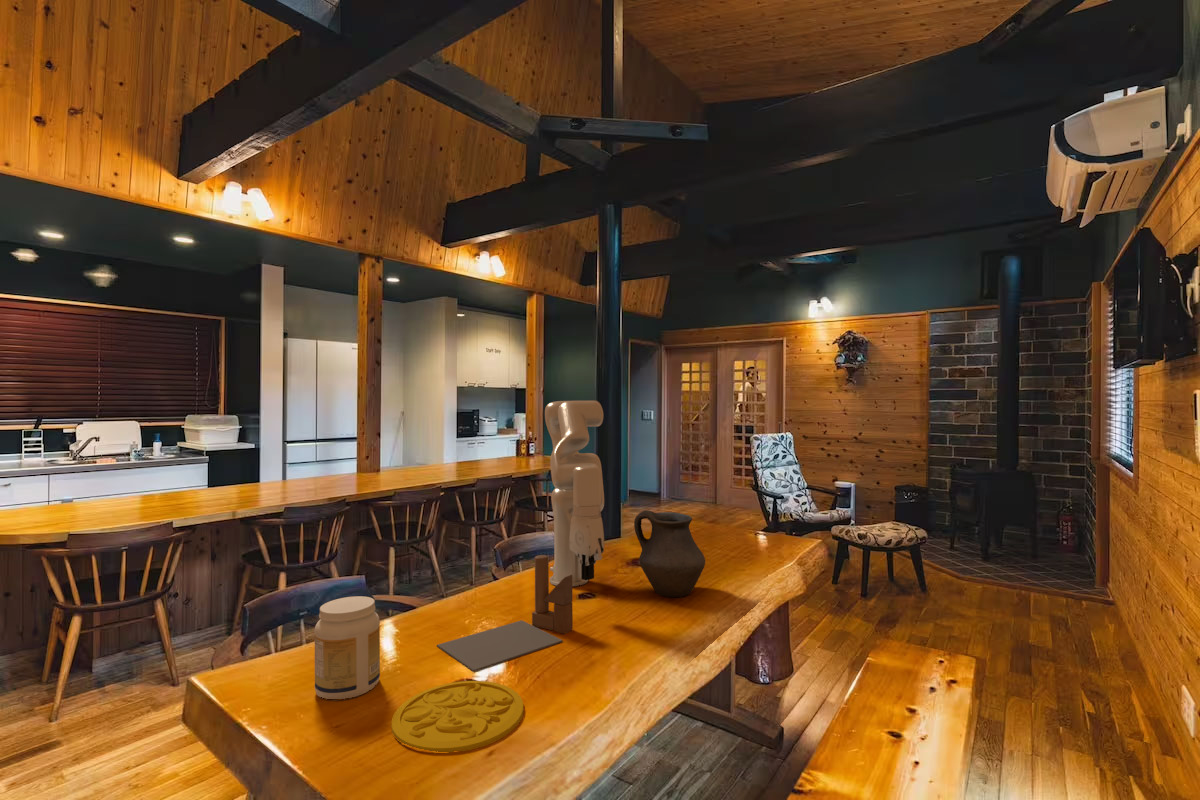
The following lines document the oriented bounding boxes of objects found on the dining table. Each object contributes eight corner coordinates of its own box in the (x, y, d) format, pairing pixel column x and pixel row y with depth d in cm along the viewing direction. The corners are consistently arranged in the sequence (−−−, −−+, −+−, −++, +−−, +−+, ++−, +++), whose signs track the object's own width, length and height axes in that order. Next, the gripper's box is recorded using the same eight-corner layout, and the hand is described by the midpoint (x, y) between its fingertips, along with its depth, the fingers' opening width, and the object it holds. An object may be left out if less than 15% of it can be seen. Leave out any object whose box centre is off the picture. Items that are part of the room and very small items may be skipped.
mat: (436, 646, 136) (436, 644, 136) (521, 621, 152) (521, 620, 152) (473, 672, 122) (473, 670, 122) (562, 641, 138) (562, 640, 138)
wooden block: (564, 634, 143) (564, 562, 143) (531, 626, 148) (531, 557, 149) (573, 629, 146) (572, 559, 146) (540, 621, 152) (540, 554, 152)
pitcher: (704, 605, 163) (703, 518, 164) (629, 601, 167) (629, 516, 168) (706, 584, 183) (705, 506, 184) (639, 581, 187) (638, 505, 188)
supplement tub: (361, 668, 124) (361, 590, 125) (391, 685, 117) (391, 601, 117) (303, 690, 115) (303, 605, 115) (331, 709, 107) (332, 618, 108)
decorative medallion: (445, 679, 120) (445, 669, 120) (545, 698, 112) (545, 688, 112) (361, 739, 98) (361, 727, 98) (477, 768, 90) (477, 756, 90)
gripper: (559, 509, 159) (560, 576, 158) (594, 516, 147) (595, 587, 147) (580, 506, 164) (581, 571, 163) (615, 512, 152) (616, 581, 152)
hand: (587, 578), depth 155 cm, fingers closed
